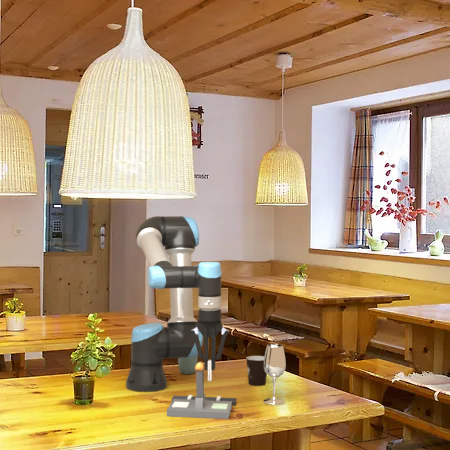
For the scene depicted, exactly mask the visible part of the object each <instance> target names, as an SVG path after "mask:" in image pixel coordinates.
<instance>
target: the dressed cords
mask: <svg viewBox="0 0 450 450" xmlns="http://www.w3.org/2000/svg"><path fill="white" fill-rule="evenodd" d="M196 398H197V397H196V395H195V396H193V394H188V395H172V397H171V402H172V401H173V399H185V400H195V399H196ZM205 400H210V401H232V406H236V404H237V398H236V397H222V396H221V395H217V396H205Z"/></svg>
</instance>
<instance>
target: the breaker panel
mask: <svg viewBox="0 0 450 450" xmlns="http://www.w3.org/2000/svg"><path fill="white" fill-rule="evenodd" d="M205 397H206V393H205V392H204V398H196V399H195V400H185V399H173V401H172V400H171V403H170V405H169V406H168V408H167V409H166V417H175V418H200V419H223V420H224V419H225V420H229V418H230V416H231V411H232V408H233V405H232V401H210V400H205Z"/></svg>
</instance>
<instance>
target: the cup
mask: <svg viewBox="0 0 450 450" xmlns="http://www.w3.org/2000/svg"><path fill="white" fill-rule="evenodd" d="M198 357H199V355H197V356H195V357H188V358H177V362H178V363H177V364H178V370H179V371H180V373H181V374H183V375H193V374H194V373H196V369H195V366H196V365H197V363H198Z"/></svg>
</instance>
